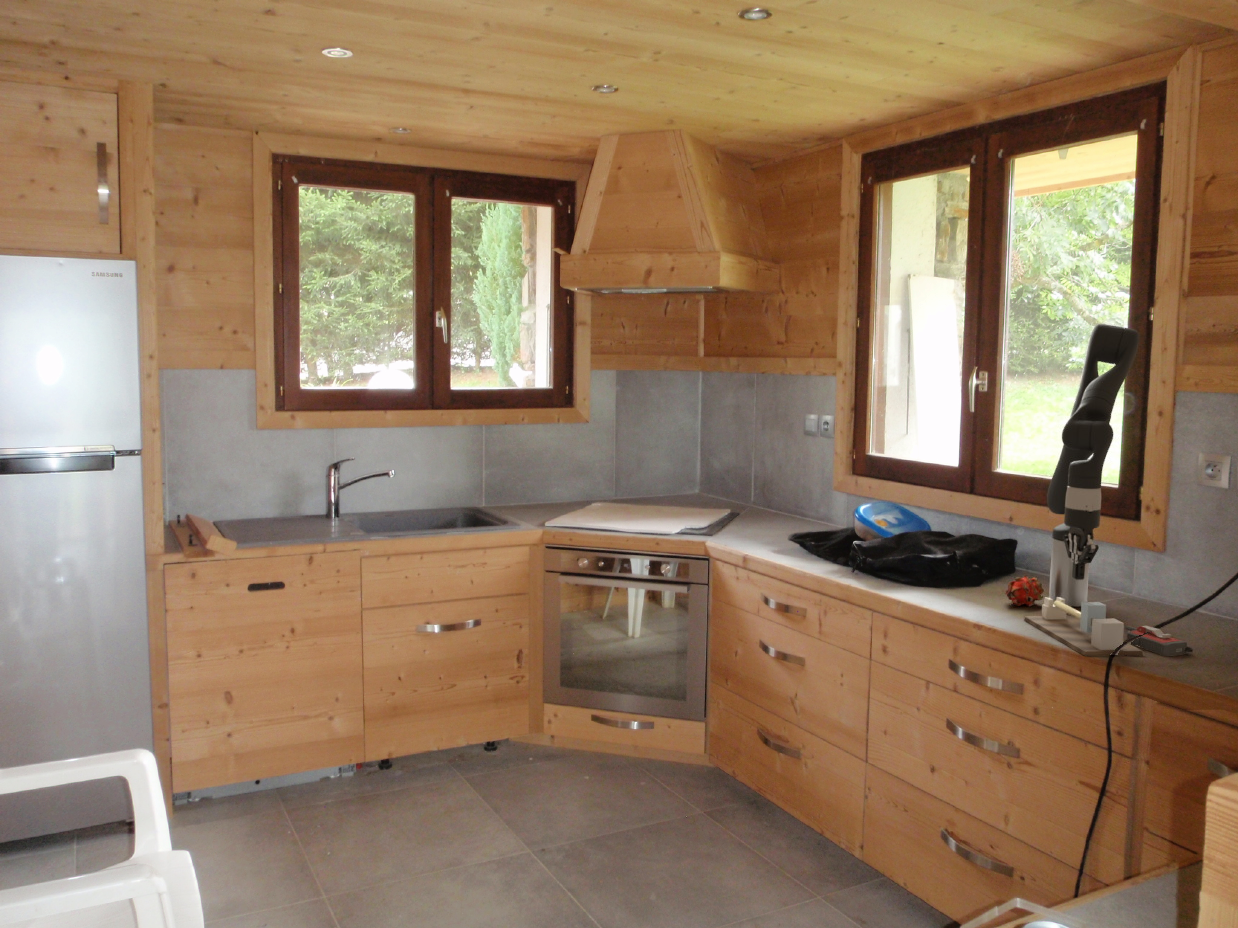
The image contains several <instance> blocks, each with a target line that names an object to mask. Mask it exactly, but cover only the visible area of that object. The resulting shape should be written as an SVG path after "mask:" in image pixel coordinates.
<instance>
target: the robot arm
mask: <svg viewBox="0 0 1238 928" xmlns="http://www.w3.org/2000/svg"><path fill="white" fill-rule="evenodd" d="M1088 338H1089V339H1088V341H1087V347H1086V352H1085V358H1084V363H1083V366H1082V372H1081V377H1080V382H1079V385H1078V386H1079V387H1078V389H1077V393H1076V396H1075V399H1074V403H1073V407H1072V409H1071V412H1070V413H1071V414H1070V417H1069V419H1068V420H1067V422H1066V423H1065V425H1064V426H1063V429H1062V432H1061V441H1062V443H1063V445H1062V450H1061V452H1060V456H1059V459H1058V462H1057V465H1056V466H1055V469H1054V472H1053V475H1052V476H1051V479H1050V480H1051V481H1050V483H1049V486H1048V489H1047V495H1046V504H1047V507H1048V509H1049V511H1050V512H1052V514H1055V515H1064V517H1063V518H1064V520H1063V523H1060V524H1059V525H1056V526H1055V527H1053V528H1052V529H1053V530H1052V534H1051V535H1052V536H1051V537H1052V539H1051V558H1050V560H1051V561H1050V572H1049V590H1048V591H1049V592H1048V597H1049V598H1051V599H1053V604H1054V602H1055V601H1056V597H1061V598H1063V599H1065V604H1066V605H1068V606H1070V607H1081V603H1082V602H1088V592H1089V591H1088V589H1089V588H1088V587H1089V574H1090V573H1089V570H1090V564H1091V563H1092V561H1093V560H1094V558H1095V556H1096V555H1097V553H1098V551H1099V545H1098V544H1095V543H1094V536H1095V535H1094V529H1097V528H1099V527H1100V525H1101V524H1100V523H1101V511H1102V510H1101V508H1102V488H1101V487H1102V476H1103V468H1104V465H1105V461H1106V457H1107V454H1108V452H1109V450H1110V448H1111V445H1112V442H1113V439H1114V430H1113V427H1112V425H1110V423H1111V419H1112V414H1113V413H1112V412H1113V411H1114V410H1113V409H1114V406H1115V403H1116V399H1117V396H1118V394H1119V391H1120V389H1121V387H1122V386H1123V383H1124V382H1125V380H1126V378H1127V376H1128V374H1129V371H1130V369H1131V368H1132V366H1133V363H1134V360H1135V358H1136V355H1137V352H1138V349H1139V345H1140V338H1141V337H1140V333H1139V332H1138V331H1137V330H1136V329H1133V328H1130V327H1123V326H1117V325H1113V324H1108V323H1107V324H1106V323H1097V324H1096V325H1094V327H1093V328H1092V330H1091V332H1090V335H1089V337H1088ZM1099 362H1100V363H1105V364H1111V365H1114V366H1112V368H1110V369H1109V370H1107V371H1106V372H1104V373H1102V374H1101V375H1099V368H1098V367H1099V365H1098V364H1099Z"/></svg>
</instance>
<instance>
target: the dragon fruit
mask: <svg viewBox="0 0 1238 928" xmlns="http://www.w3.org/2000/svg"><path fill="white" fill-rule="evenodd" d="M1044 592H1045V591H1044V588H1043V585H1042V582H1041V581H1040V580H1039V581H1038V578H1037V577H1032V578H1030V577H1028V575H1026V574H1024V575H1023V577H1019V576H1016V578H1015V579H1014V580H1011V581H1010V582H1008V585H1007V589H1006V591H1005V595H1006V596H1007V598H1008V600H1009V601H1011V603H1010V605H1011V606H1016V607H1020V606H1022V605H1026V606H1027V607H1029V608H1030V607H1031V606H1033V605H1035V602H1036V601H1041V600H1044V599H1043V598H1044V596H1043V595H1041V594H1043V593H1044Z"/></svg>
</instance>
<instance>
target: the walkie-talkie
mask: <svg viewBox="0 0 1238 928" xmlns="http://www.w3.org/2000/svg"><path fill="white" fill-rule="evenodd" d="M1124 629H1125V630H1126V631H1127V632H1126V641H1127V640H1128V639H1131V638H1134V637H1136V636H1139V635H1143V634H1144V633H1147V632H1150V633H1148V634H1145V635H1143V636H1141V637H1140V638H1138V639H1135V640H1134V641H1133V642H1131V644H1133V645H1132V646H1134V645H1138V646H1140V647H1143V648H1144V650H1146V649H1147V651H1149V650H1150V651H1149V652H1153V653H1156V654H1158V653H1159V655H1161V656H1164V657H1173V656H1180V655H1187V653H1193V651H1194V650H1193V649H1194V648H1193V647H1190V646H1188V643H1187V642H1186V641H1184V640H1180V639H1177V638H1174V637H1172V634H1170V633H1165V634H1164V632H1163V631H1162V630H1161V629H1159V628H1156V627H1152V626H1150V625H1142V626H1138V627H1137V628H1136V627H1133V626H1130V625H1124ZM1131 644H1130V645H1131ZM1140 647H1139V648H1140ZM1143 648H1142V649H1143Z"/></svg>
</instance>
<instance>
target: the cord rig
mask: <svg viewBox="0 0 1238 928" xmlns="http://www.w3.org/2000/svg"><path fill="white" fill-rule="evenodd" d="M1067 614H1068V615H1070V616H1075V617H1076V618H1078V619H1080V620H1081V610H1077V609H1076V608H1074V607H1073V606H1068V605H1066V604H1065V599H1063V598H1061V597H1056V601H1055V602H1054V603H1053V599H1051V598H1049V596H1048V597H1047V596H1046V597H1044V599H1043V604H1041V616H1042V617H1043V618H1044V619H1046V620H1048V619H1066V616H1067ZM1091 625H1092V638H1091V645H1092V646H1094V647H1096V648H1098V649H1099V650H1115V649H1116V648H1117V647H1119V646H1120V645H1122V644H1123V641H1124V629H1125V623H1124V622H1122V621H1120V620H1118V619H1116V618H1106V619H1095V618H1091ZM1121 650H1123V648H1122V649H1121Z"/></svg>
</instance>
